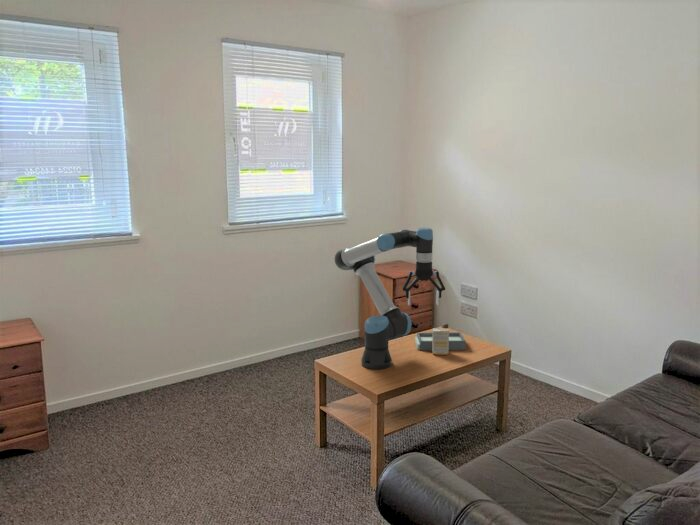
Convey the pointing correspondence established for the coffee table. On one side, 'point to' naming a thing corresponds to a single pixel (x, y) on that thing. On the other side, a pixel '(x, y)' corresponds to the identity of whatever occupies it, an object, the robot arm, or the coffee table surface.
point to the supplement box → (440, 341)
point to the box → (455, 341)
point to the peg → (445, 325)
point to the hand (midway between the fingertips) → (423, 304)
